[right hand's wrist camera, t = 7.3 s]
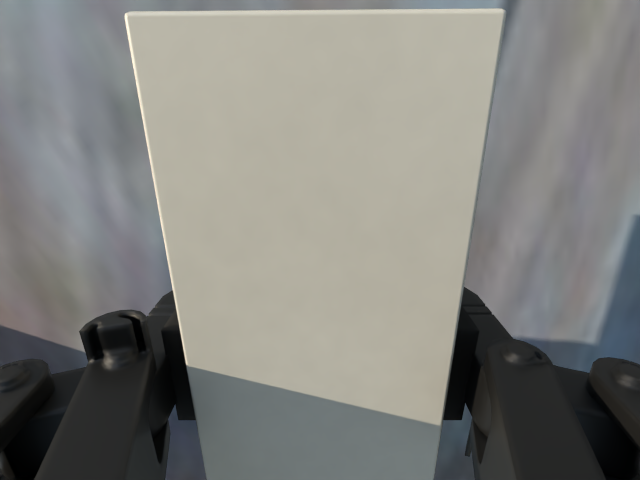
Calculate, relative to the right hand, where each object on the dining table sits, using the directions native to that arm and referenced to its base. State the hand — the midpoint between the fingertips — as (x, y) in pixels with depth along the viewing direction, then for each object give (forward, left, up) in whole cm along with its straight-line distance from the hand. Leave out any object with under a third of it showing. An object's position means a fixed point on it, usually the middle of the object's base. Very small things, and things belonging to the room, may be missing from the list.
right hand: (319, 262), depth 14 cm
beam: (+6, +19, 0) cm, 20 cm away
